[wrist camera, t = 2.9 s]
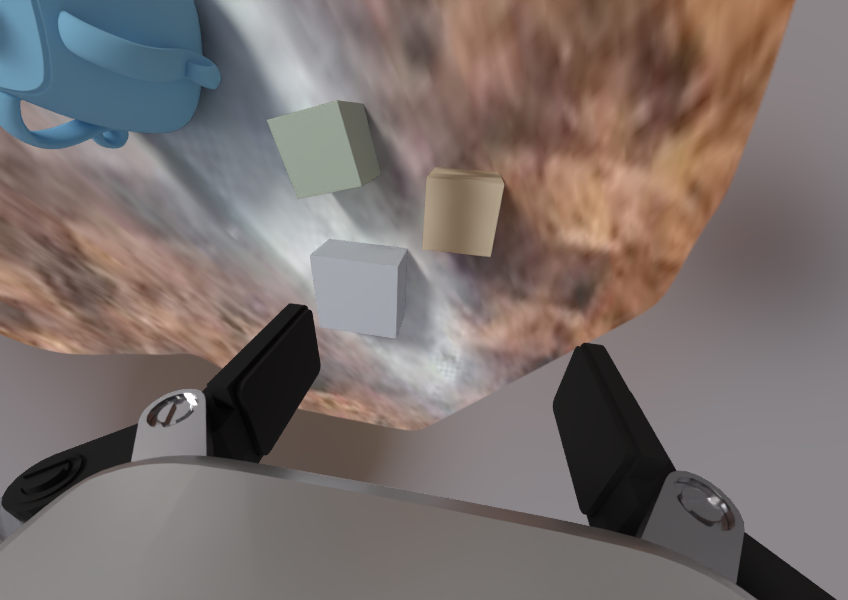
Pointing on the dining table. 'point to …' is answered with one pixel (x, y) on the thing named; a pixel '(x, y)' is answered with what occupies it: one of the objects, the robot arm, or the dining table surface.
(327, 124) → the sage cube
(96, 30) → the decorative pot
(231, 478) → the robot arm
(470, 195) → the maple cube
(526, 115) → the dining table surface
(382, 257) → the base block
